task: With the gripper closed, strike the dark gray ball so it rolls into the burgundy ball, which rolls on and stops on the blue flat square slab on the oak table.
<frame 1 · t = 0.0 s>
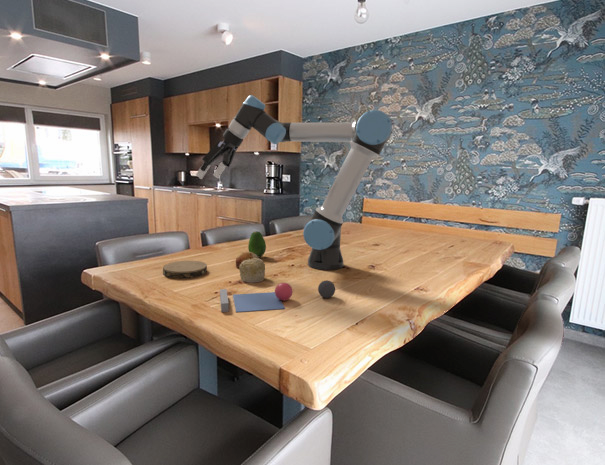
hand: (207, 176, 143), 36 cm above the table, tool tilted 35°, fingers open, 13 cm apart
red object ball: (283, 291, 109), on the table
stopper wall: (224, 303, 105), on the table
fruit: (257, 257, 161), on the table
coral: (252, 279, 130), on the table
dark gray ball: (326, 289, 112), on the table
blue flat square slab: (257, 301, 107), on the table
round stone disc: (185, 273, 135), on the table
bread roll: (247, 267, 146), on the table
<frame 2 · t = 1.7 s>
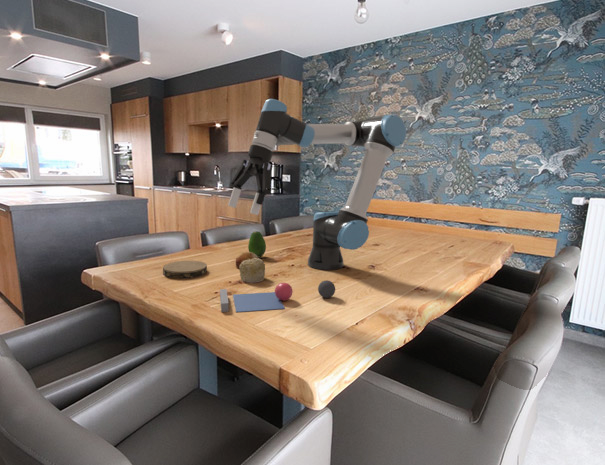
hand: (242, 210, 114), 26 cm above the table, tool tilted 20°, fingers open, 13 cm apart
nothing on the table moved.
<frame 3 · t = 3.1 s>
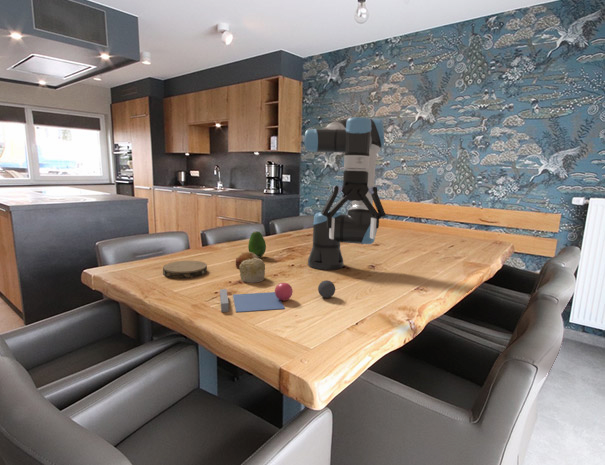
hand: (352, 238, 111), 19 cm above the table, tool pointing down, fingers open, 13 cm apart
nothing on the table moved.
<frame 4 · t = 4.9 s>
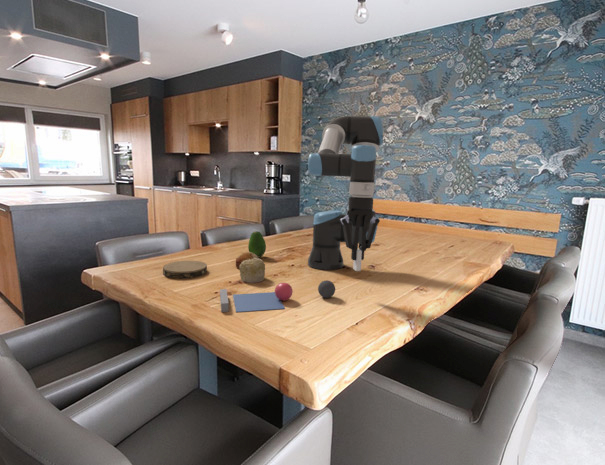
hand: (356, 269, 114), 9 cm above the table, tool pointing down, fingers closed
nothing on the table moved.
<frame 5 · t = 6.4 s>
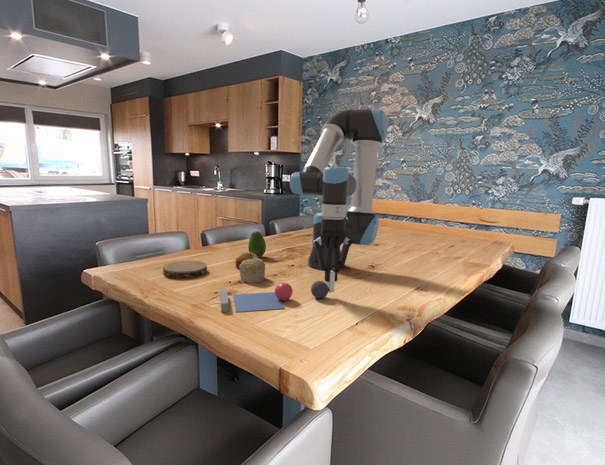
hand: (330, 291, 112), 2 cm above the table, tool pointing down, fingers closed
dark gray ball: (319, 289, 112), on the table
everything else where it was.
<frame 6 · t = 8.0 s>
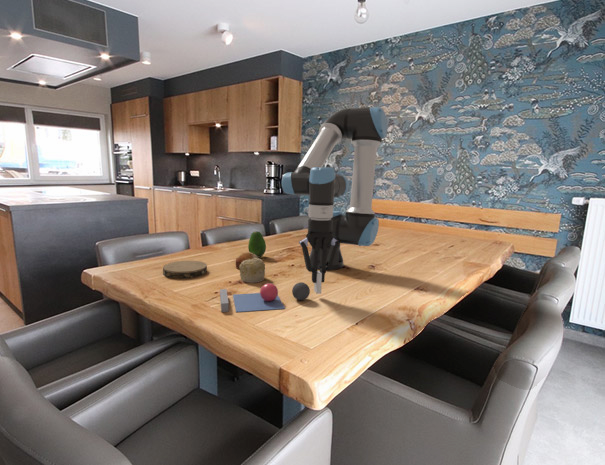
hand: (317, 292, 112), 2 cm above the table, tool pointing down, fingers closed
red object ball: (269, 292, 108), on the table
dark gray ball: (301, 291, 110), on the table
everything else where it was.
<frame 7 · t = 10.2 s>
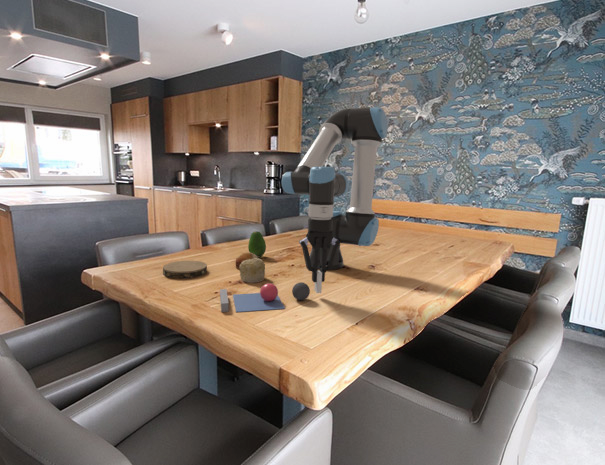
hand: (317, 291, 112), 2 cm above the table, tool pointing down, fingers closed
nothing on the table moved.
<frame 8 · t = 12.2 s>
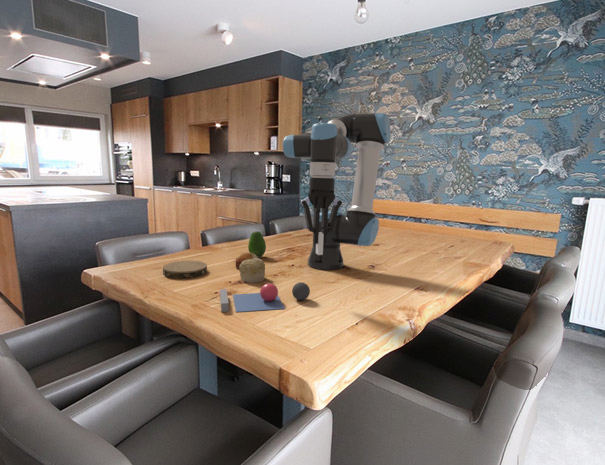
hand: (319, 253, 110), 14 cm above the table, tool pointing down, fingers closed
at the end: red object ball 3.4 cm from the blue flat square slab (horizontally); red object ball never touched the robot; dark gray ball first touched red object ball at 6.7 s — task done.
